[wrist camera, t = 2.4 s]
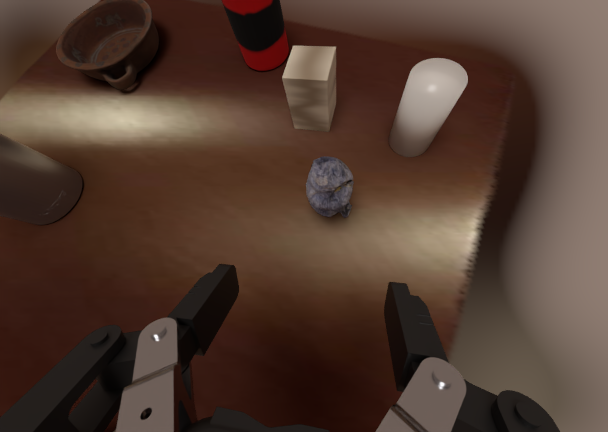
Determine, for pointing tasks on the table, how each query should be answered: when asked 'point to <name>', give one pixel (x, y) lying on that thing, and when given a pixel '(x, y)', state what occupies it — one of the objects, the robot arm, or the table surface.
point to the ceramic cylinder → (426, 104)
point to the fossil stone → (330, 187)
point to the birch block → (311, 86)
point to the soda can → (259, 32)
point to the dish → (110, 41)
